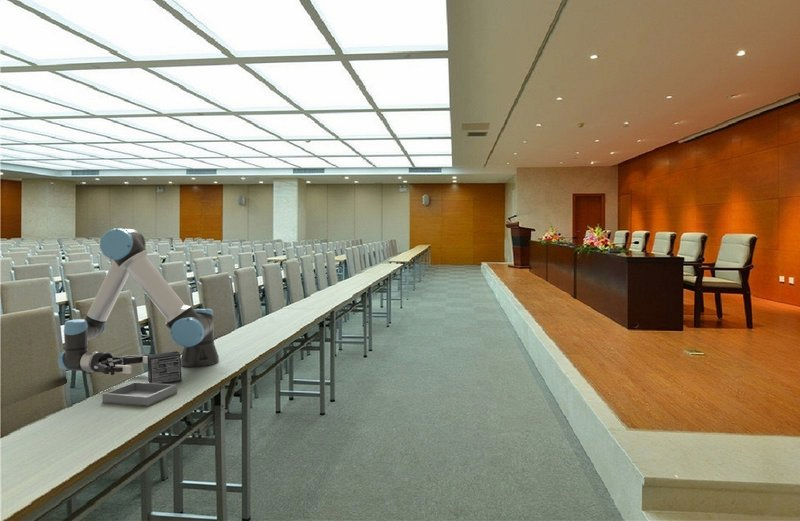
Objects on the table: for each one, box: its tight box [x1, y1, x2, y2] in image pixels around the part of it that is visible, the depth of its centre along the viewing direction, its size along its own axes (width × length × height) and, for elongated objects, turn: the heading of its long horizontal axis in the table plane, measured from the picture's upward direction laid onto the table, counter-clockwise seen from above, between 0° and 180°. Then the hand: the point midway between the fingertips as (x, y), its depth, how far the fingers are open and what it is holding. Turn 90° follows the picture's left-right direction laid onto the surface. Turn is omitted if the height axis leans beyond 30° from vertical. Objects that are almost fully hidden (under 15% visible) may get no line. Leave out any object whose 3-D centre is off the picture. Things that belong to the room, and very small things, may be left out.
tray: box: [101, 381, 178, 408], centre depth 169 cm, size 14×17×3 cm
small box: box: [146, 350, 183, 384], centre depth 187 cm, size 11×6×10 cm, turn 125°
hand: (145, 365), depth 189 cm, fingers open, 13 cm apart
